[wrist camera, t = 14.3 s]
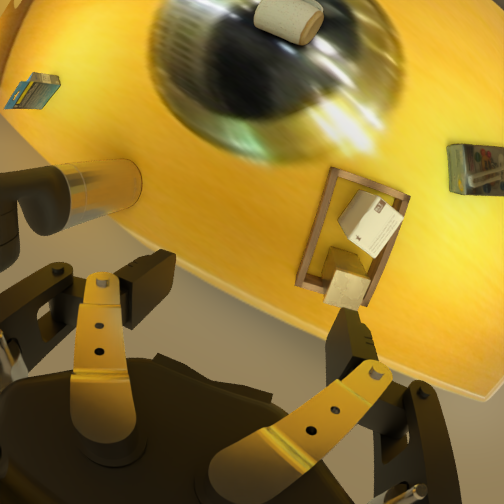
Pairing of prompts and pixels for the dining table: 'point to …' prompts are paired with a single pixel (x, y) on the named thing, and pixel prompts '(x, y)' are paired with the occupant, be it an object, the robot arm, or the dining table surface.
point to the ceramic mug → (290, 19)
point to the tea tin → (344, 279)
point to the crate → (302, 276)
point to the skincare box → (369, 222)
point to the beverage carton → (476, 169)
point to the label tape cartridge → (34, 92)
